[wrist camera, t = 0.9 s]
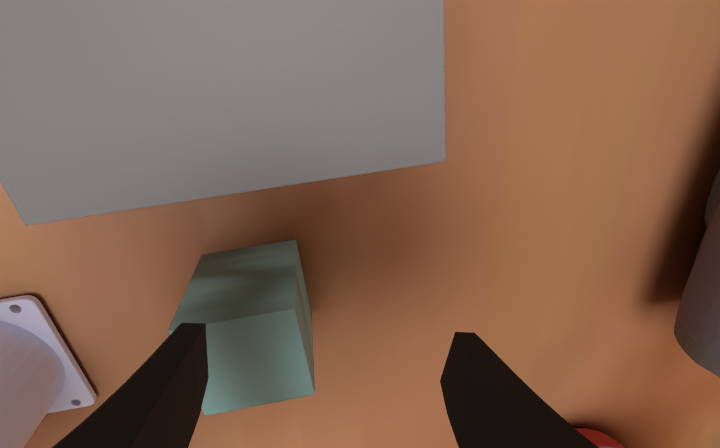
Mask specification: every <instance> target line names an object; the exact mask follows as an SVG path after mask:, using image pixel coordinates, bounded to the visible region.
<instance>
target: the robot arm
mask: <svg viewBox="0 0 720 448" xmlns="http://www.w3.org/2000/svg"><path fill="white" fill-rule="evenodd" d="M15 305H17V306H19V307H20V308H18V307H17V306H15ZM208 378H209V375H208V358H207V340H206V323H181V324H180V325H179V326H178V327H177V328H176V329H175V330H174V331H173V332H172V333H171V335H170V336H169V337H168V338H167V339H166V340H165V341H164V342H163V343H162V345H161V346H160V347H159V348H158V349H157V350H156V351H155V352H154V353H153V354H152V355H151V356H150V357H149V359H148V360H147V361H146V362H145V363H144V364H143V365H142V366H141V367H140V368H139V369H138V370H137V371H136V372H135V373H134V374H133V375H132V376H131V377H130V378H129V379H128V380H127V381H126V382H125V383H124V384H123V385H122V386H121V387H120V388H119V389H118V390H117V391H116V392H115V393H114V394H113V395H111V396H110V397H109V398H108V399H107V400H106V401H105V402H104V403H103V404H102V405H101V406H100V407H99V408H97V409H96V410H95V411H94V412H93V413H92V414H91V415H90V416H89V417H88V418H86V419H85V420H84V421H83V422H82V423H81V424H80V425H78V426H77V427H76V428H75V429H74V430H73V431H71V432H70V433H69V434H68V435H67V436H66V437H64V438H63V439H62V440H61V441H59V442H58V443H57V444H56V445H55V446H53V447H52V448H188V446H189V443H190V441H191V438H192V435H193V432H194V429H195V426H196V424H197V421H198V418H199V415H200V411H201V407H202V403H203V399H204V395H205V391H206V386H207V382H208ZM440 382H441V387H442V392H443V397H444V401H445V405H446V410H447V414H448V417H449V420H450V423H451V426H452V429H453V432H454V435H455V438H456V441H457V444H458V446H459V448H599V447H597V446H596V445H595V444H594V443H592V442H591V441H590V440H588V439H587V438H586V437H585V436H583V435H582V434H581V433H580V432H578V431H577V430H576V429H575V428H574V427H572V426H571V425H570V424H569V423H568V422H567V421H565V420H564V419H563V418H562V417H561V416H560V415H559V414H557V413H556V412H555V411H554V410H553V409H552V408H551V407H550V406H549V405H547V404H546V403H545V402H544V401H543V400H542V399H541V398H540V397H539V396H538V395H537V394H536V393H534V392H533V391H532V390H531V389H530V388H529V387H528V386H527V385H526V384H525V383H524V382H523V381H522V380H521V379H520V378H519V377H518V376H517V375H516V374H515V373H514V372H513V371H512V370H511V369H510V368H509V367H508V366H507V365H506V364H505V363H504V362H503V361H502V360H501V359H500V358H499V357H498V356H497V355H496V354H495V353H494V352H493V351H492V350H491V349H490V348H489V347H488V346H487V345H486V344H485V343H484V342H483V341H482V340H481V339H480V338H479V337H478V336H477V335H476V334H475V333H465V332H455V335H454V338H453V341H452V345H451V348H450V351H449V354H448V357H447V361H446V364H445V367H444V370H443V374H442V377H441V380H440ZM96 398H97V396H96V393H95V392H94V390H93V388H92V387H91V385H90V384H89V382H88V380H87V379H86V377H85V375H84V374H83V372H82V370H81V369H80V367H79V365H78V364H77V362H76V360H75V359H74V357H73V355H72V354H71V352H70V350H69V349H68V347H67V345H66V344H65V342H64V340H63V339H62V337H61V335H60V334H59V332H58V330H57V329H56V327H55V325H54V324H53V322H52V320H51V319H50V317H49V315H48V314H47V312H46V310H45V309H44V307H43V305H42V304H41V302H40V301H39V300H38V299H37V298H36V297H34V296H30V295H24V296H18V297H12V298H6V299H0V448H24V447H25V445H26V444H27V442H28V441H29V439H30V438H31V436H32V435H33V433H34V432H35V430H36V429H37V427H38V426H39V424H40V423H41V421H42V420H43V418H44V417H45V415H46V414H49V413H54V412H59V411H65V410H70V409H75V408H81V407H86V406H90V405H92V404H93V403H94V402H95V400H96Z"/></svg>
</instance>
